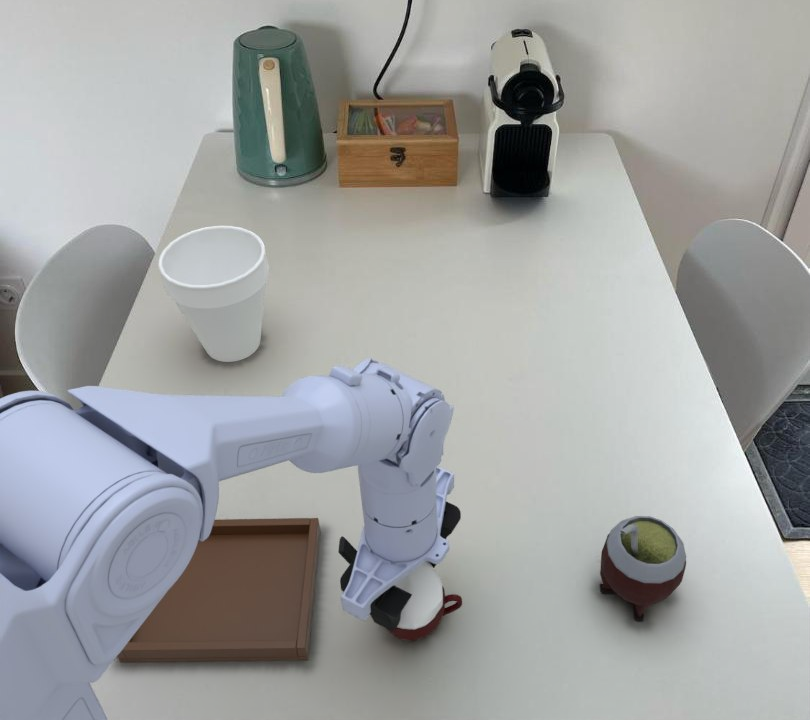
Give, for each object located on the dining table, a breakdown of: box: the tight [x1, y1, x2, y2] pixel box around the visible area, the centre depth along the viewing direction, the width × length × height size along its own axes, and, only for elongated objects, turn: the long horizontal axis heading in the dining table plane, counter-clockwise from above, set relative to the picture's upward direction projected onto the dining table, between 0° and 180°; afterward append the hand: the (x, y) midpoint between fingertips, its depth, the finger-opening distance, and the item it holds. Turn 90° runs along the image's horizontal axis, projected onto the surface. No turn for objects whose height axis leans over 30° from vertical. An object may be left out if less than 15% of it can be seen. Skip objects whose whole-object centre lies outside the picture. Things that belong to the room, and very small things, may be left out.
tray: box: [116, 517, 322, 663], centre depth 75 cm, size 17×14×2 cm
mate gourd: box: [599, 515, 687, 623], centre depth 69 cm, size 8×8×15 cm
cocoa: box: [338, 535, 463, 642], centre depth 69 cm, size 10×6×12 cm, turn 66°
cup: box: [157, 225, 270, 363], centre depth 97 cm, size 12×12×14 cm
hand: (405, 593), depth 71 cm, fingers closed on cocoa, 6 cm apart
